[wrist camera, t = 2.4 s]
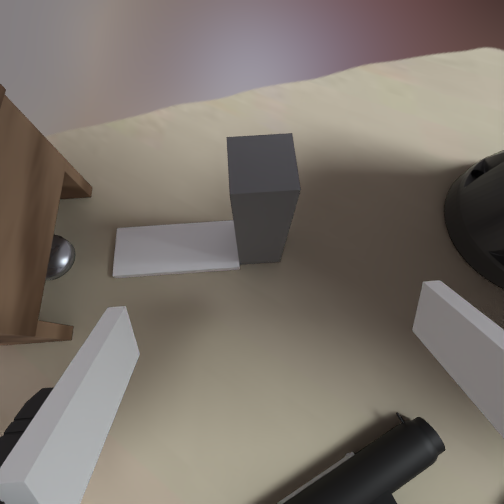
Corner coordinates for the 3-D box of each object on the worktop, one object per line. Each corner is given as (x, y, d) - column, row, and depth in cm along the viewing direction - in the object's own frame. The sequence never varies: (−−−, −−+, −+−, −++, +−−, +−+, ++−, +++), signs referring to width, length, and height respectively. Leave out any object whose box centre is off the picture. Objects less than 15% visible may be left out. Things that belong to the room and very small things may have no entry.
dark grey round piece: (80, 238, 30) (73, 234, 28) (72, 280, 28) (64, 276, 27) (37, 240, 30) (28, 235, 28) (26, 281, 28) (17, 278, 27)
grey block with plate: (275, 220, 30) (291, 126, 18) (280, 266, 28) (302, 197, 16) (120, 231, 30) (27, 142, 17) (116, 278, 28) (9, 216, 16)
